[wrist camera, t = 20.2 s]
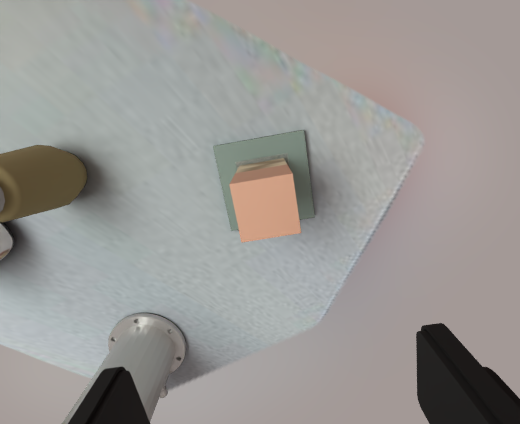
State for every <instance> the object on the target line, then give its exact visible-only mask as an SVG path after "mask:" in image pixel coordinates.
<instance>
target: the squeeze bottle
mask: <svg viewBox="0 0 520 424" xmlns="http://www.w3.org/2000/svg"><path fill="white" fill-rule="evenodd" d="M86 181H87V172H86V169H85V167H84V165H83V163H82V162H81V161H80V160H79V159H78V158H77V157H76V156H75V155H73V154H71V153H69V152H66V151H63V150H60V149H57V148H55V147H52V146H44V145H35V146H31V147H27V148H23V149H19V150H15V151H11V152H7V153H2V154H0V222H7V221H10V220H14V219H18V218H22V217H25V216H29V215H33V214H37V213H40V212H44V211H48V210H52V209H55V208H59V207H62V206H65V205H68V204H70V203H71V202H72V201H73V200H74V199H75V198H76V197H77V196H78V194H79V193H80V192H81V190H82V189H83V188H84V186H85V184H86Z"/></svg>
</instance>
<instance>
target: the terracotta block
mask: <svg viewBox="0 0 520 424" xmlns="http://www.w3.org/2000/svg"><path fill="white" fill-rule="evenodd" d="M229 186H230V190H231V195H232V200H233V204H234V209H235V214H236V218H237V223H238V228H239V233H240V237H241V242H248V241H254V240H260V239H266V238H273V237H279V236H285V235H291V234H298V233H301V228H300V221H299V214H298V207H297V200H296V193H295V187H294V180H293V173H292V171H291V170H290V168H289V166H288V165H287V164H286V165H280V166H275V167H269V168H263V169H258V170H252V171H246V172H240V173H235V175H234V176H233V178H232V180H231V182H230V184H229Z"/></svg>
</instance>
